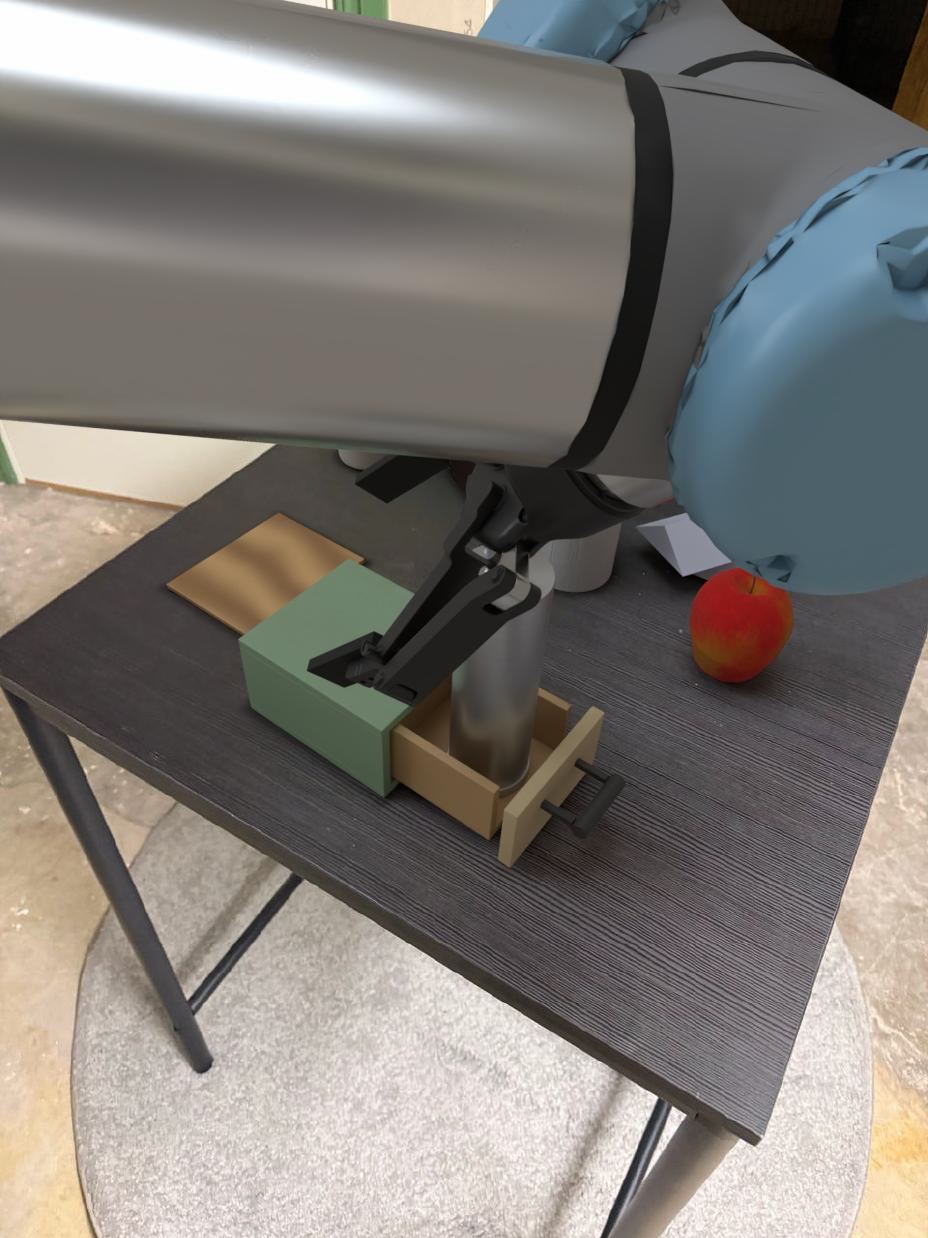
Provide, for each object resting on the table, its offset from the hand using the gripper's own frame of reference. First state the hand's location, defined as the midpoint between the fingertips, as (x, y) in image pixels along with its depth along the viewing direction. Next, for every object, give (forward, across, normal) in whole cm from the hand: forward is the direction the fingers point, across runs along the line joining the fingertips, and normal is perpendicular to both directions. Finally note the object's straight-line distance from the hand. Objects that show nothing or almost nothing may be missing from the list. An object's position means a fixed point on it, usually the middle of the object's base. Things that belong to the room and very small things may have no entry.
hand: (350, 576), depth 55 cm
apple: (+2, +12, -43) cm, 45 cm away
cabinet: (+22, +2, -16) cm, 27 cm away
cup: (+16, +24, -34) cm, 45 cm away
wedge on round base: (+7, +28, -46) cm, 54 cm away
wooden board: (+35, +17, -9) cm, 40 cm away
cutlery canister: (+11, -3, -22) cm, 25 cm away
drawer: (+10, -4, -24) cm, 26 cm away
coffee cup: (+37, +40, -18) cm, 58 cm away
